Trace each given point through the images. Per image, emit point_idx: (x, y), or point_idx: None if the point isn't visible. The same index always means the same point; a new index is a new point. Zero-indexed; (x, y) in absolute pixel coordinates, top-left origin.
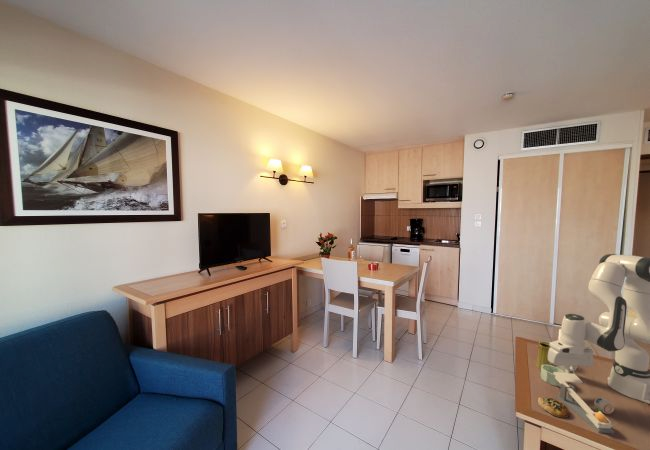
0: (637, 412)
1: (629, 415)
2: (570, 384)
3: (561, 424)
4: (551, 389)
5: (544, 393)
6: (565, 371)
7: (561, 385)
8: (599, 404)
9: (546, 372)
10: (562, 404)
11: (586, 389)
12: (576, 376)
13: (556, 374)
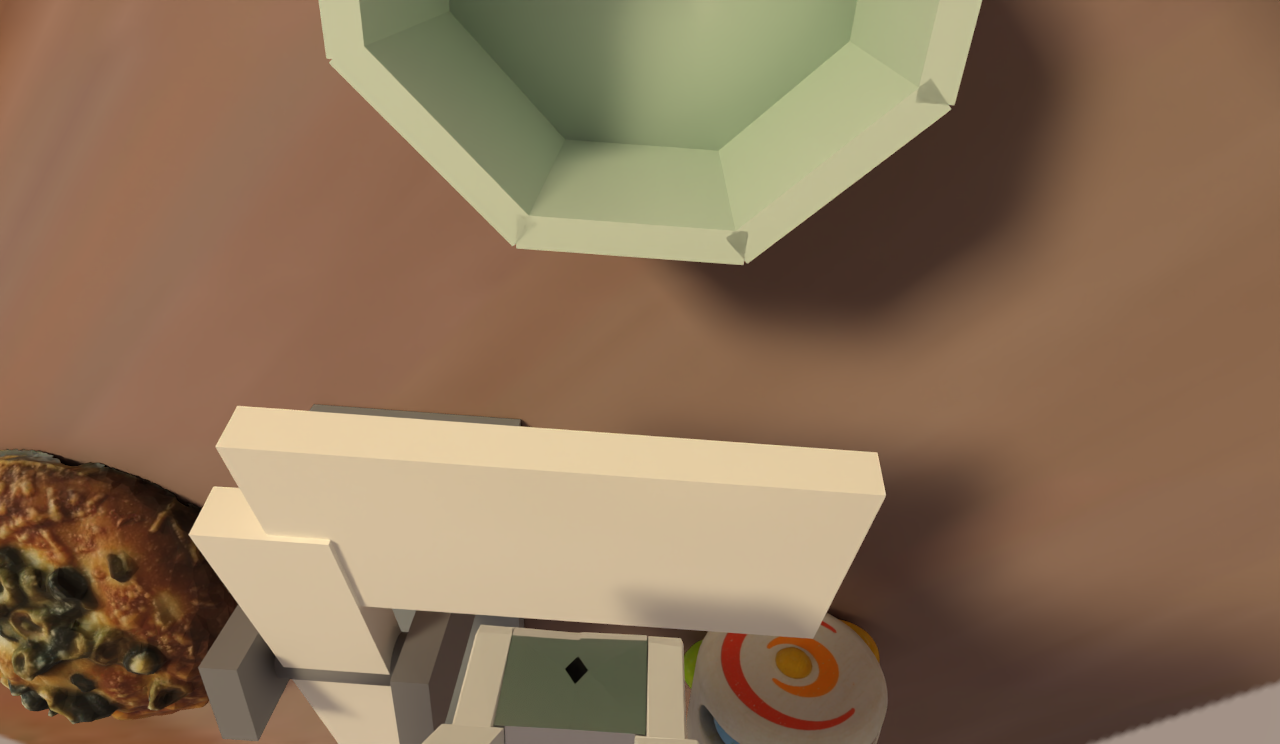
0: (1221, 664)
1: (1031, 689)
2: (402, 697)
3: (68, 729)
4: (379, 232)
5: (164, 324)
6: (476, 643)
7: (219, 652)
8: (692, 737)
9: (336, 24)
10: (164, 672)
11: (1134, 251)
12: (832, 564)
13: (258, 500)
